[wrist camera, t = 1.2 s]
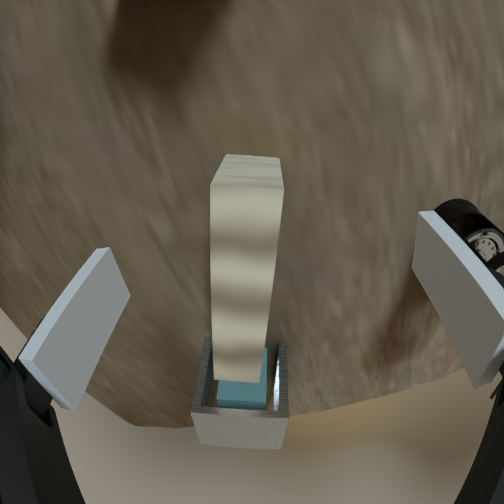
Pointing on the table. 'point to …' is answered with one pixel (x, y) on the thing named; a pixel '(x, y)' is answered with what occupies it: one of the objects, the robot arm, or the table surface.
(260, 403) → the block
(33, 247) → the table surface
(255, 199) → the bar
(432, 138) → the table surface
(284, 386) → the grey open box
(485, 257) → the french press
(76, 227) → the table surface
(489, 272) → the robot arm
